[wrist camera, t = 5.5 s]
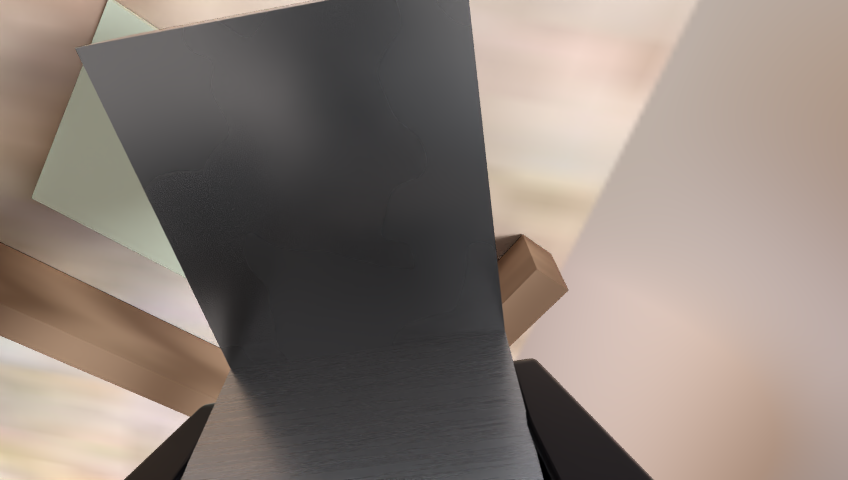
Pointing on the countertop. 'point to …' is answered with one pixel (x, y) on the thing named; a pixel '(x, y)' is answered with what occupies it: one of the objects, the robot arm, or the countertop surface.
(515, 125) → the countertop surface
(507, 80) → the countertop surface
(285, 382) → the bracket
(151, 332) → the brown chevron piece
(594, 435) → the robot arm
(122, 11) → the mat
